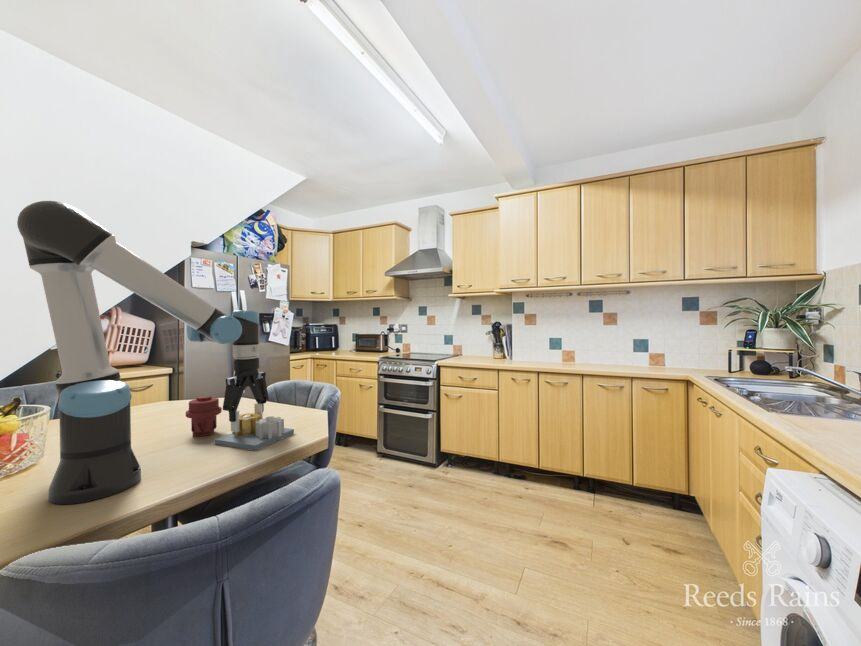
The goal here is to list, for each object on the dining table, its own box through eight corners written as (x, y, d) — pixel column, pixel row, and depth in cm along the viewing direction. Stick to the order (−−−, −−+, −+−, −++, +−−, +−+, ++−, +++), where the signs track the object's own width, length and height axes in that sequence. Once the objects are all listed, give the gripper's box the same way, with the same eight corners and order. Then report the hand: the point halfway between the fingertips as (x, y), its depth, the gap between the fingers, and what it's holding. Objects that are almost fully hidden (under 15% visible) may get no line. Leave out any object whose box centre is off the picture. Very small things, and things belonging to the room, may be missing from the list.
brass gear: (246, 437, 109) (246, 421, 109) (226, 433, 112) (226, 418, 112) (267, 429, 117) (267, 414, 117) (248, 426, 120) (248, 411, 120)
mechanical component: (201, 428, 122) (228, 429, 121) (178, 438, 112) (207, 439, 111) (201, 393, 122) (228, 394, 121) (177, 400, 112) (206, 400, 111)
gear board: (257, 451, 101) (257, 426, 101) (214, 444, 107) (214, 421, 107) (295, 433, 116) (295, 412, 116) (256, 428, 122) (256, 408, 122)
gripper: (226, 362, 103) (227, 439, 103) (279, 354, 123) (280, 418, 123) (207, 361, 105) (208, 436, 106) (263, 354, 125) (263, 417, 126)
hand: (247, 426), depth 114 cm, fingers closed on brass gear, 9 cm apart
